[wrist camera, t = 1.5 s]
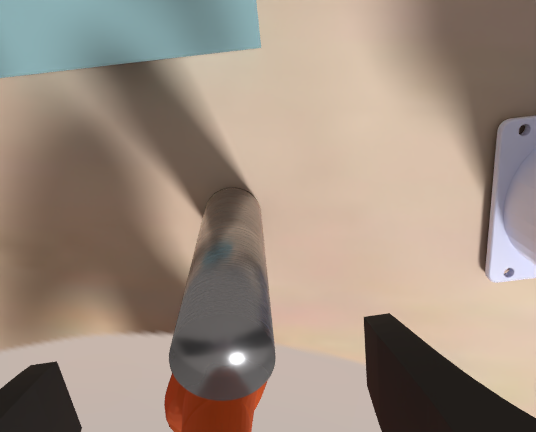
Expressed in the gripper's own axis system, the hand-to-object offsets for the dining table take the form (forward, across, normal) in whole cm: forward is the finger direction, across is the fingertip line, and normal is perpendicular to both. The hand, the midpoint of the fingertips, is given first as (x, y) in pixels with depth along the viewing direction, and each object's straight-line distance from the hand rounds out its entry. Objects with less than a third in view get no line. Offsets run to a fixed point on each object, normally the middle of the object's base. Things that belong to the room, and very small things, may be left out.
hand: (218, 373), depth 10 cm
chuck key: (+10, 0, 0) cm, 11 cm away
